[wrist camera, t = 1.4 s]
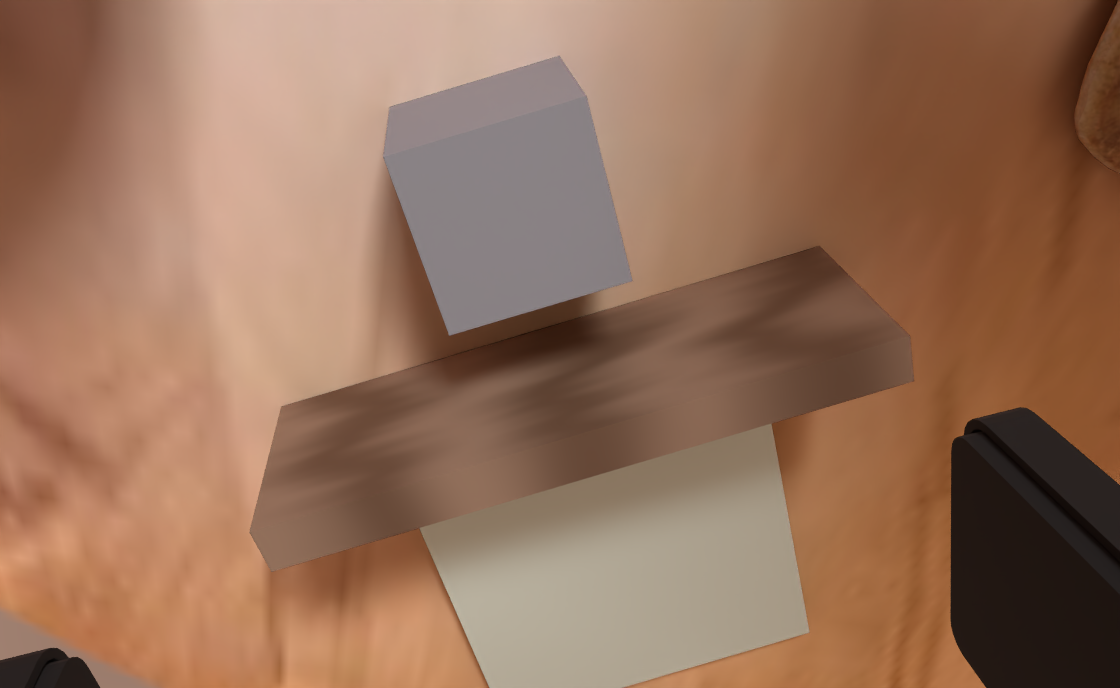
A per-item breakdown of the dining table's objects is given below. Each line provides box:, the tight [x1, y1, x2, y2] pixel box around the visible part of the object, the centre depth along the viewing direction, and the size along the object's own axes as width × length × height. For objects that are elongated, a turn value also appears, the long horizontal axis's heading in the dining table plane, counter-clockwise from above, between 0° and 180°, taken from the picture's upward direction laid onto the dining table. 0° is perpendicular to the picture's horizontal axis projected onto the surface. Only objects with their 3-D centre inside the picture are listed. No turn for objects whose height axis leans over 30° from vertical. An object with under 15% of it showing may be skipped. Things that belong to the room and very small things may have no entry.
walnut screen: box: [249, 246, 914, 572], centre depth 30 cm, size 20×2×7 cm, turn 105°
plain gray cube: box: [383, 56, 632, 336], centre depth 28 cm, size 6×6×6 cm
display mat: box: [419, 424, 810, 688], centre depth 38 cm, size 14×14×1 cm
